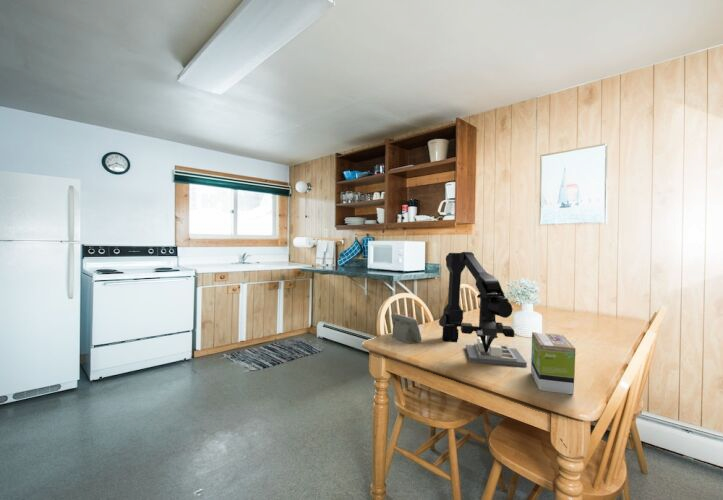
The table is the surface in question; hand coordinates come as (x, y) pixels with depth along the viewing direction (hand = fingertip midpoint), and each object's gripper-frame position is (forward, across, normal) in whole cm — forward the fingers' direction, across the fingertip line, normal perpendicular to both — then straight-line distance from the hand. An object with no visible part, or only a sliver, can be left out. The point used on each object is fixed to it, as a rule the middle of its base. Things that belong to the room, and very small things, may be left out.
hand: (485, 352), depth 133 cm
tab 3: (+2, +4, 0) cm, 4 cm away
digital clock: (+4, -32, +20) cm, 38 cm away
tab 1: (+2, 0, +10) cm, 10 cm away
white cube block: (+2, 0, +5) cm, 5 cm away
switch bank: (+3, +4, +5) cm, 7 cm away
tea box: (+4, +18, -16) cm, 24 cm away
